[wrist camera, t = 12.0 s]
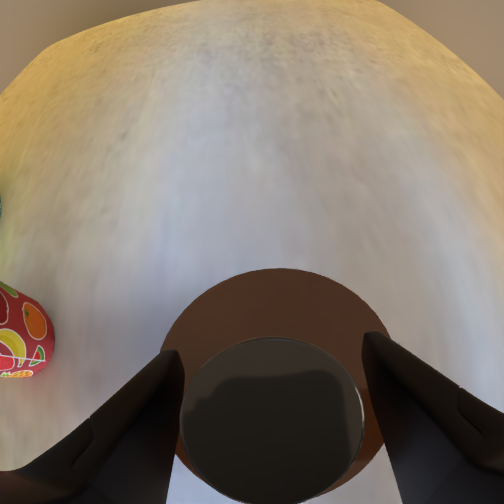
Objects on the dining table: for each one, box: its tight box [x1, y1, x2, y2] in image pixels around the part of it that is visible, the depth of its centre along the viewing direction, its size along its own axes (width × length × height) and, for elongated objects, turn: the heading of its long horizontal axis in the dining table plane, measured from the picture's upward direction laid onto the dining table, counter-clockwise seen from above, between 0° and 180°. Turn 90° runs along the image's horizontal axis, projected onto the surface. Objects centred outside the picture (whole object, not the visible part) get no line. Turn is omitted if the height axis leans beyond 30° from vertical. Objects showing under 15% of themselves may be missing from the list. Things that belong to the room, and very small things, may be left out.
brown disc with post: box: [160, 268, 391, 504], centre depth 9 cm, size 12×12×11 cm
